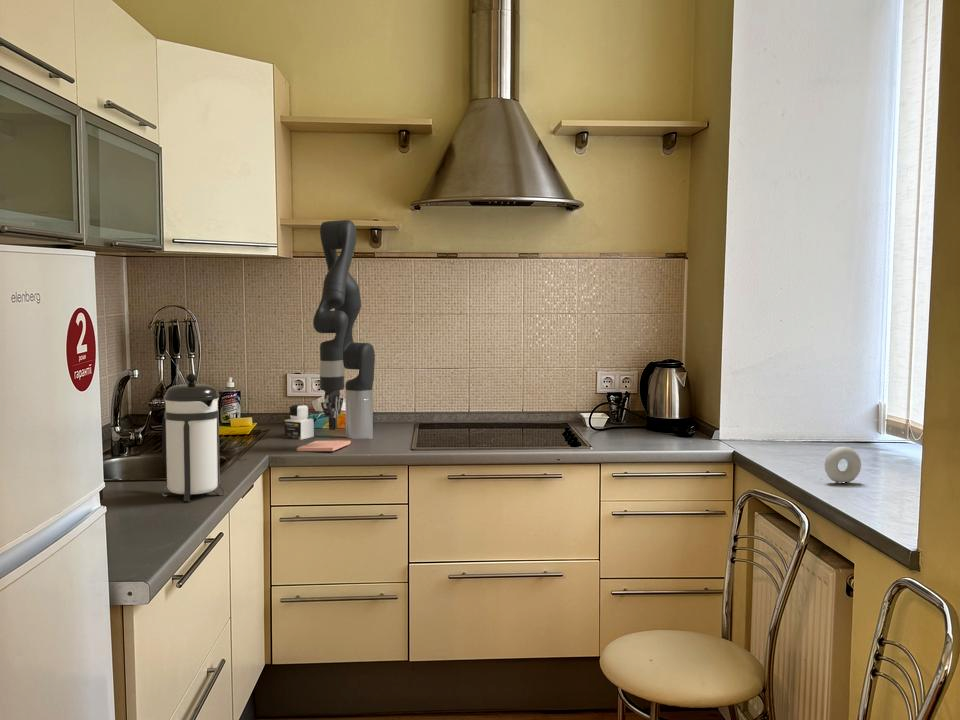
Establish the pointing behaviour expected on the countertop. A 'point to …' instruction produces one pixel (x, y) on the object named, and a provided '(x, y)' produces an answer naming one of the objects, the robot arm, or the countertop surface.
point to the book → (323, 446)
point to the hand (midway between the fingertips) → (333, 429)
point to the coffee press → (191, 439)
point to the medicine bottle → (299, 423)
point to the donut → (852, 466)
